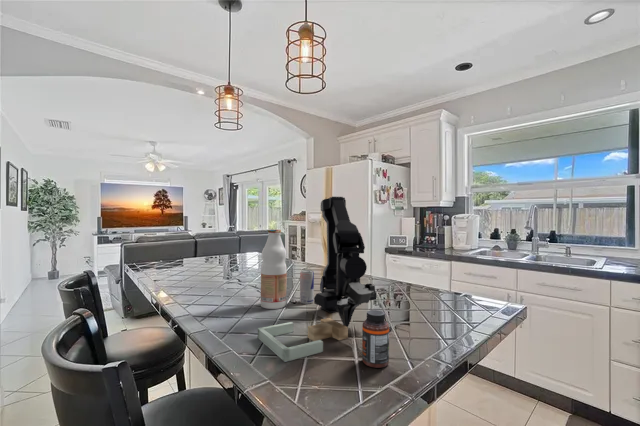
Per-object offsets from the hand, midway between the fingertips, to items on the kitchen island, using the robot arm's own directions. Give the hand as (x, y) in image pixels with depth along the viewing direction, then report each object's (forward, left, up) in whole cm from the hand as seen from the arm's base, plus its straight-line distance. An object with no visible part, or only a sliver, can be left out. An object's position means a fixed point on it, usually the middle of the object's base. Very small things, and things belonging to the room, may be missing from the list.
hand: (346, 326), depth 88 cm
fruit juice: (+7, -34, -2) cm, 35 cm away
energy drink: (-6, -32, -2) cm, 33 cm away
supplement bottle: (+6, +19, -2) cm, 20 cm away
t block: (+7, 0, -1) cm, 7 cm away
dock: (+18, 0, -1) cm, 18 cm away
